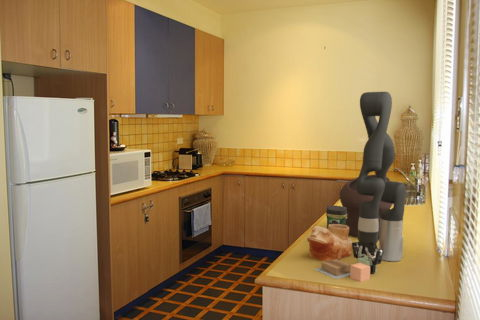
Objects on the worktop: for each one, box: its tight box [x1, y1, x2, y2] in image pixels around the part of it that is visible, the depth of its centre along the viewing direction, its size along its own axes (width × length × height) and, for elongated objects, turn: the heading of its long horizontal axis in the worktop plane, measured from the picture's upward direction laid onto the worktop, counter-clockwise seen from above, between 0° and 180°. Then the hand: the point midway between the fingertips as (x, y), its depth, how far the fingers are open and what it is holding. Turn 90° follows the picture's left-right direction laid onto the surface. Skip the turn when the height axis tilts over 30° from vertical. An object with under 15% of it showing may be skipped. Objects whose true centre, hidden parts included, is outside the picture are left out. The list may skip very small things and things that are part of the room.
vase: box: [339, 174, 393, 240], centre depth 234 cm, size 27×27×30 cm
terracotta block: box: [349, 262, 371, 283], centre depth 169 cm, size 5×5×6 cm
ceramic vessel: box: [306, 224, 354, 262], centre depth 196 cm, size 14×26×15 cm, turn 135°
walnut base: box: [320, 259, 352, 276], centre depth 177 cm, size 8×8×3 cm
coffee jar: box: [325, 204, 347, 229], centre depth 216 cm, size 10×8×19 cm
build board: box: [313, 267, 350, 280], centre depth 177 cm, size 12×12×1 cm
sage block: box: [356, 255, 373, 266], centre depth 177 cm, size 5×5×6 cm
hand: (366, 271), depth 177 cm, fingers closed on sage block, 5 cm apart
